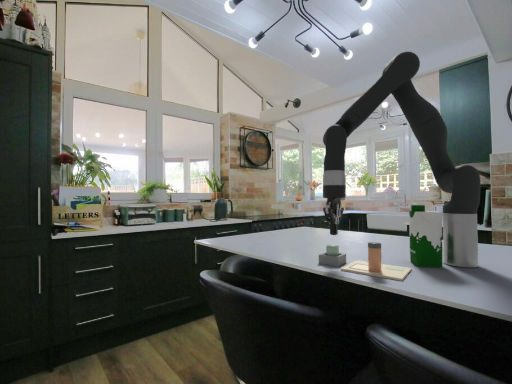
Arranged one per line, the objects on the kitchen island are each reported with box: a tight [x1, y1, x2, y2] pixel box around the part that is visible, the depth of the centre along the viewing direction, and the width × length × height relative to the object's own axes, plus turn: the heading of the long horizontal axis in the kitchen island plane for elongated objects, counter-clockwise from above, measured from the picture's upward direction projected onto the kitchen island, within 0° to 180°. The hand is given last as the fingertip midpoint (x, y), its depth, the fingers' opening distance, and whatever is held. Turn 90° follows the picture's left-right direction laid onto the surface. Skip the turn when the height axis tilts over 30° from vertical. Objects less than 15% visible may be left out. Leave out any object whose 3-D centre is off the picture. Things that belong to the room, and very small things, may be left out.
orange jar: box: [367, 241, 382, 272], centre depth 80 cm, size 4×4×8 cm
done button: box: [325, 244, 340, 256], centre depth 93 cm, size 4×4×4 cm
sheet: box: [340, 259, 413, 282], centre depth 83 cm, size 14×17×1 cm
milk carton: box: [408, 204, 443, 268], centre depth 90 cm, size 9×9×20 cm
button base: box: [318, 251, 347, 267], centre depth 92 cm, size 7×7×3 cm
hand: (333, 234), depth 91 cm, fingers closed
